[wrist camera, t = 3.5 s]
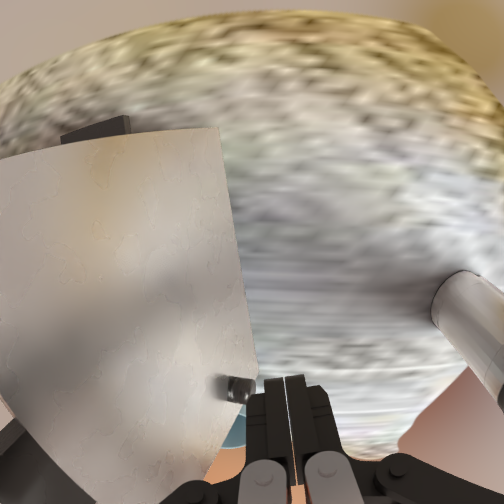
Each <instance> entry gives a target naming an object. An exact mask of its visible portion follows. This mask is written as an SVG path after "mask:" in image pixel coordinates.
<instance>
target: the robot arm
mask: <svg viewBox="0 0 504 504" xmlns="http://www.w3.org/2000/svg"><path fill="white" fill-rule="evenodd" d="M431 317H432V320H433V322H434V324H435V325H436V326H437V327H438V328H439V330H440V331H441V332H442V333H443V334H444V336H445V337H446V338H447V339H448V341H449V342H450V343H451V344H452V345H453V347H454V348H455V349H456V350H457V352H458V353H459V354H460V355H461V357H462V358H463V359H464V360H465V362H466V363H467V364H468V365H469V367H470V368H471V369H472V370H473V372H474V373H475V374H476V375H477V377H478V378H479V379H480V381H481V382H482V383H483V385H484V386H485V387H486V389H487V390H488V391H489V393H490V394H491V396H492V397H493V398H494V400H495V401H496V402H497V404H498V405H499V407H500V408H501V409H502V411H503V413H504V293H503V292H502V291H501V290H499V289H498V288H497V287H496V286H494V285H493V284H492V283H490V282H489V281H488V280H486V279H485V278H484V277H482V276H479V277H478V276H476V275H475V274H473V273H472V272H469V271H462V272H458V273H456V274H454V275H452V276H451V277H450V278H448V279H447V280H446V281H445V282H444V283H443V284H442V286H441V287H440V288H439V290H438V291H437V293H436V295H435V297H434V300H433V303H432V307H431ZM285 385H286V394H287V403H288V411H289V419H290V426H291V434H292V442H293V449H294V457H295V465H296V472H297V481H298V485H302V484H304V488H305V496H306V504H504V495H503V494H500V493H497V492H494V491H492V490H489V489H486V488H484V487H481V486H478V485H476V484H473V483H471V482H468V481H466V480H464V479H461V478H458V477H456V476H454V475H452V474H449V473H447V472H445V471H443V470H440V469H438V468H436V467H434V466H432V465H429V464H427V463H425V462H423V461H421V460H419V459H416V458H415V457H412V456H411V455H408V454H404V453H395V454H391V455H389V456H387V457H385V458H384V459H383V460H381V461H359V460H355V459H353V458H351V457H349V456H348V455H347V454H346V453H345V452H344V450H343V449H342V446H341V442H340V438H339V434H338V431H337V427H336V423H335V419H334V416H333V412H332V408H331V405H330V401H329V397H328V394H327V393H326V392H325V391H324V389H323V388H322V387H321V386H320V385H317V386H311V387H307V386H306V382H305V377H304V374H301V375H294V376H287V377H285ZM264 390H265V393H260V394H251V396H250V398H249V400H248V402H247V404H246V462H245V466H244V468H243V469H242V471H241V472H240V473H239V474H238V475H236V476H235V477H233V478H231V479H229V480H226V481H223V482H219V483H216V484H213V485H211V484H210V483H208V482H206V481H202V480H191V481H188V482H185V483H183V484H182V485H180V486H179V487H178V488H177V489H176V490H174V491H173V492H172V493H171V494H170V495H168V496H167V497H166V498H165V499H164V500H162V501H161V502H160V503H159V504H291V503H292V496H291V486H295V485H296V479H295V469H294V458H293V450H292V443H291V434H290V426H289V419H288V411H287V403H286V396H285V388H284V381H283V377H281V378H273V379H265V380H264Z"/></svg>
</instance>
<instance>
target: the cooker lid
mask: <svg viewBox="0 0 504 504" xmlns="http://www.w3.org/2000/svg"><path fill="white" fill-rule="evenodd" d="M258 373H259V368H258V362H257V357H256V351H255V345H254V340H253V334H252V328H251V323H250V317H249V311H248V306H247V300H246V294H245V288H244V282H243V277H242V271H241V265H240V259H239V253H238V247H237V241H236V235H235V229H234V223H233V217H232V211H231V204H230V198H229V192H228V186H227V180H226V173H225V167H224V161H223V154H222V148H221V142H220V135H219V129H218V127H212V128H192V129H177V130H165V131H154V132H144V133H135V134H127V135H119V136H112V137H105V138H98V139H92V140H86V141H80V142H75V143H69V144H64V145H59V146H54V147H49V148H45V149H40V150H36V151H31V152H27V153H23V154H19V155H15V156H11V157H8V158H4V159H0V400H1V401H2V402H3V404H4V406H5V407H6V408H7V410H8V411H9V412H10V414H11V415H12V417H13V418H14V419H13V420H12V421H11V422H10V423H8V424H7V425H6V426H5V427H4V428H3V429H2V430H1V431H0V503H1V504H95V503H96V504H159V503H160V502H161V501H162V500H164V499H165V498H166V497H167V496H168V495H170V494H171V493H172V492H173V491H174V490H176V489H177V488H178V487H179V486H180V485H182V484H183V483H185V482H188V481H191V480H202V481H203V479H204V477H205V475H206V474H207V472H208V470H209V468H210V466H211V464H212V463H213V461H214V459H215V457H216V455H217V453H218V452H219V450H220V448H221V446H222V444H223V442H224V440H225V438H226V437H227V435H228V433H229V431H230V429H231V427H232V425H233V423H234V421H235V419H236V417H237V415H238V413H239V411H240V409H241V407H242V405H246V404H247V402H248V400H249V398H250V396H251V394H255V392H256V383H255V379H256V377H257V375H258Z"/></svg>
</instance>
